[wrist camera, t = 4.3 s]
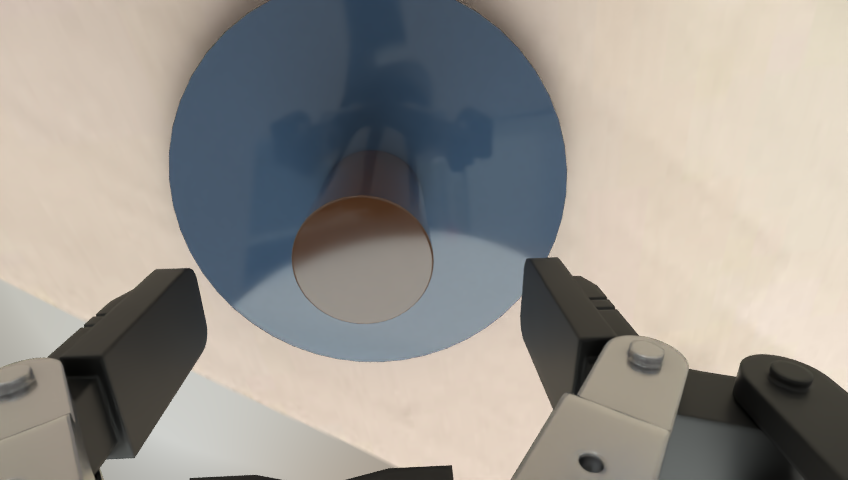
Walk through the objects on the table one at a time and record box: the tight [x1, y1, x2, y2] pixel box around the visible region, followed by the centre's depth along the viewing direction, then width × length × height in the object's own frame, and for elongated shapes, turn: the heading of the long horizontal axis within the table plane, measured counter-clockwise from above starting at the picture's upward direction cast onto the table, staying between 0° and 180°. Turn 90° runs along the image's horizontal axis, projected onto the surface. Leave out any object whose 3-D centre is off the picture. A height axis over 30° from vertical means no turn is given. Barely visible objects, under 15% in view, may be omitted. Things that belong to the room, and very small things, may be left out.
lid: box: [169, 0, 567, 362], centre depth 17 cm, size 16×16×7 cm
